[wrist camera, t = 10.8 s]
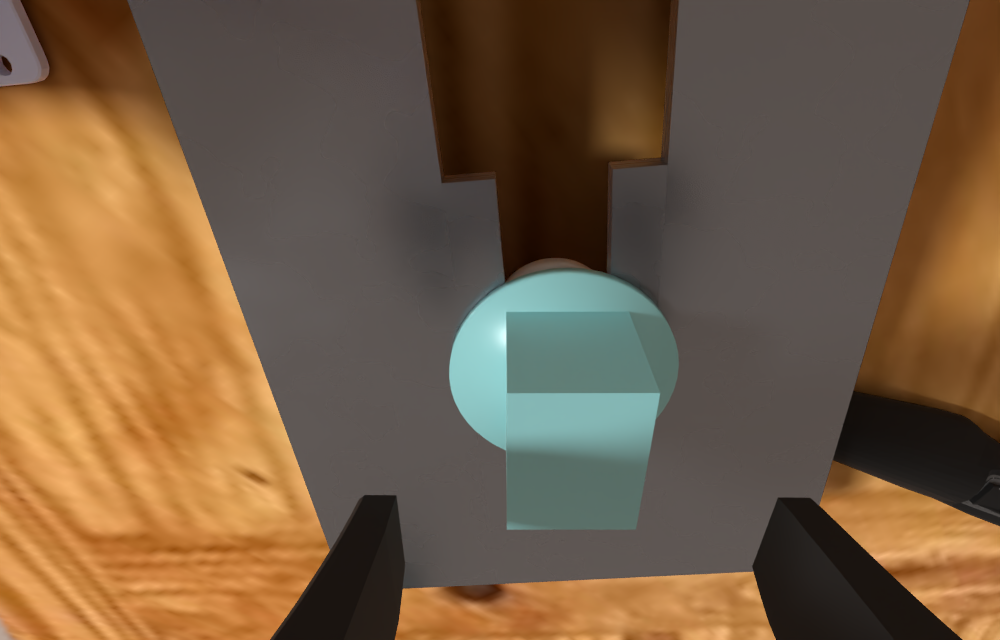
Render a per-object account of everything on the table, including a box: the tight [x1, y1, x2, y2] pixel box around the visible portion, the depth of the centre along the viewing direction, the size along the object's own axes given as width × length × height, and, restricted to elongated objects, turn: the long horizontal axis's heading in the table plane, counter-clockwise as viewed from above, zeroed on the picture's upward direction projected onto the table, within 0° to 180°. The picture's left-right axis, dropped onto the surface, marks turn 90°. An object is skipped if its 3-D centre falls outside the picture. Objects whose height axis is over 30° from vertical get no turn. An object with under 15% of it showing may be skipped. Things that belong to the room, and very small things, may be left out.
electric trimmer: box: [833, 391, 1000, 526], centre depth 21 cm, size 4×16×3 cm, turn 68°
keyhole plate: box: [127, 0, 970, 588], centre depth 16 cm, size 16×22×4 cm
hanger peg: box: [449, 258, 679, 530], centre depth 15 cm, size 6×6×7 cm
